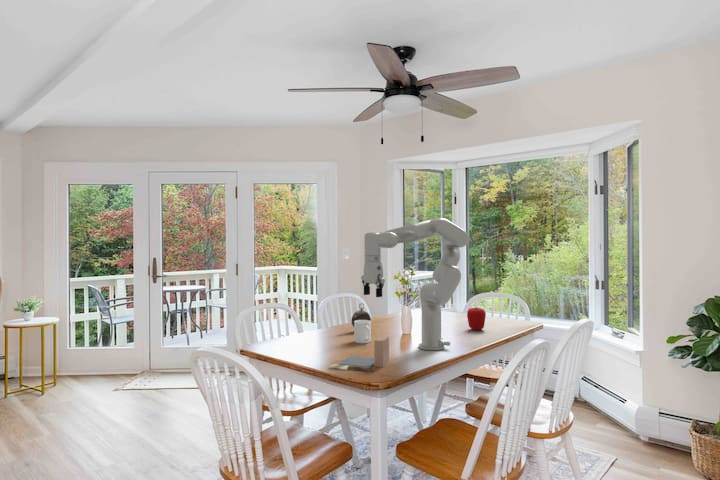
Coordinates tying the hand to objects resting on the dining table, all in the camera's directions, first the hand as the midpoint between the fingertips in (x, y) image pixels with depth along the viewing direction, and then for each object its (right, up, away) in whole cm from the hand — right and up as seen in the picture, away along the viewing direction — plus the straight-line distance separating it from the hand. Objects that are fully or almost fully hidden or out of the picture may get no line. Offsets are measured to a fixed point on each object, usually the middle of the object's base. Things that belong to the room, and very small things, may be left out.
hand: (372, 295), depth 213 cm
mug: (-4, -27, +23) cm, 36 cm away
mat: (-6, -27, -13) cm, 31 cm away
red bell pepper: (+62, -27, +53) cm, 86 cm away
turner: (-11, -27, -23) cm, 38 cm away
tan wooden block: (+3, -27, -17) cm, 32 cm away
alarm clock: (-5, -27, +50) cm, 57 cm away
